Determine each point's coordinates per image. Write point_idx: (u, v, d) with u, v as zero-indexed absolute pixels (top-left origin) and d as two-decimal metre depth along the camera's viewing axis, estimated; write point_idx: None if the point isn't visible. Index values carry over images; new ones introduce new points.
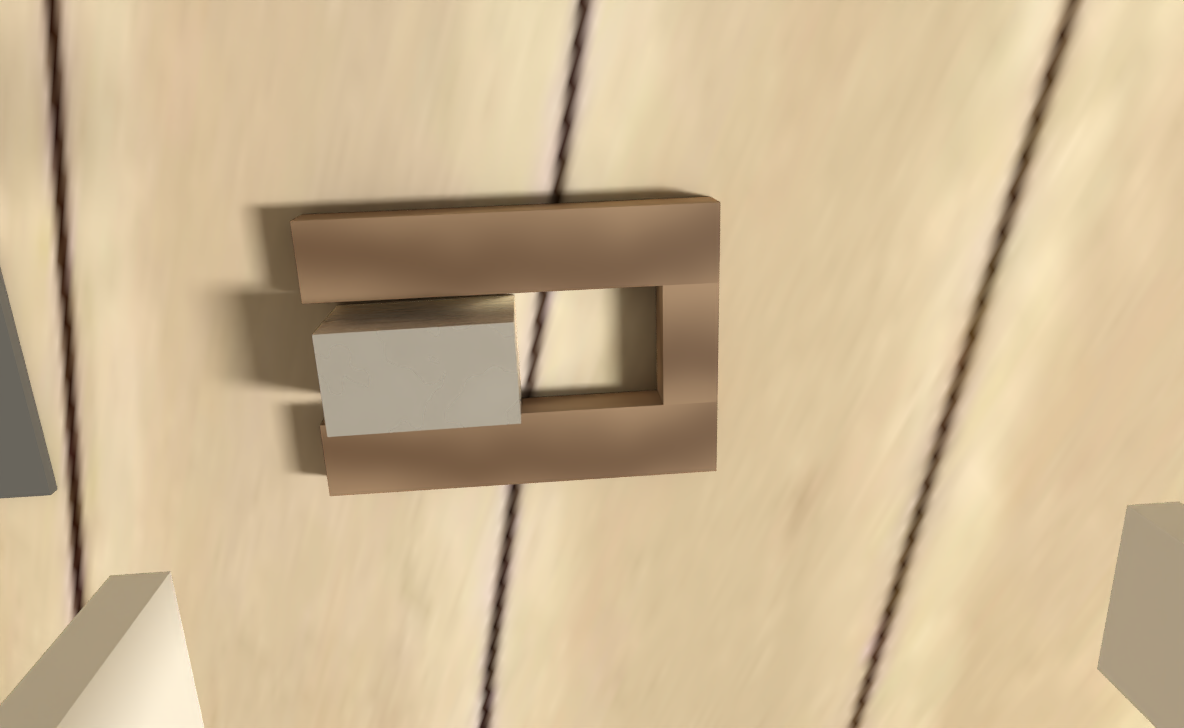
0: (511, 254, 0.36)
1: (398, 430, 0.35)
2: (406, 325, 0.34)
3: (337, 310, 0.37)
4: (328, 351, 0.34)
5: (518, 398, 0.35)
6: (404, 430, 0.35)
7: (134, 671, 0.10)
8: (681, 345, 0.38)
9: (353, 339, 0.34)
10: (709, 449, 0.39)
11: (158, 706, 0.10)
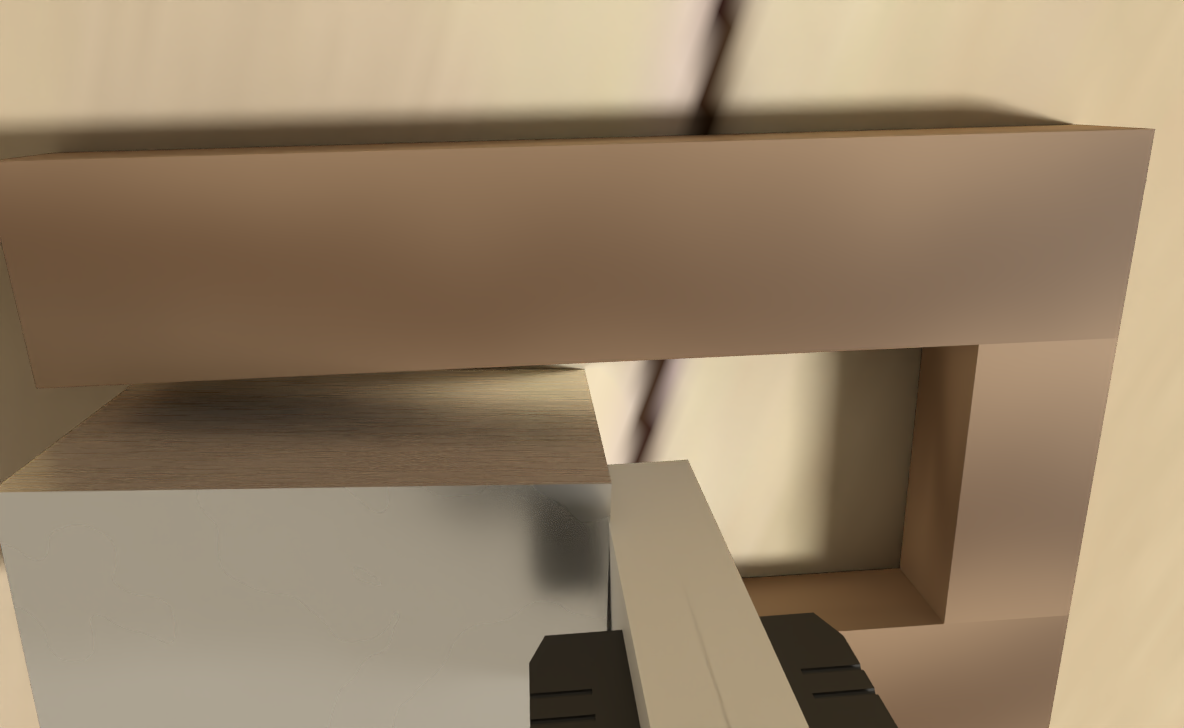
0: (599, 261, 0.13)
1: None
2: (293, 470, 0.12)
3: (137, 390, 0.14)
4: (43, 543, 0.11)
5: None
6: None
7: None
8: (1004, 489, 0.15)
9: (123, 512, 0.11)
10: (1034, 717, 0.17)
11: None
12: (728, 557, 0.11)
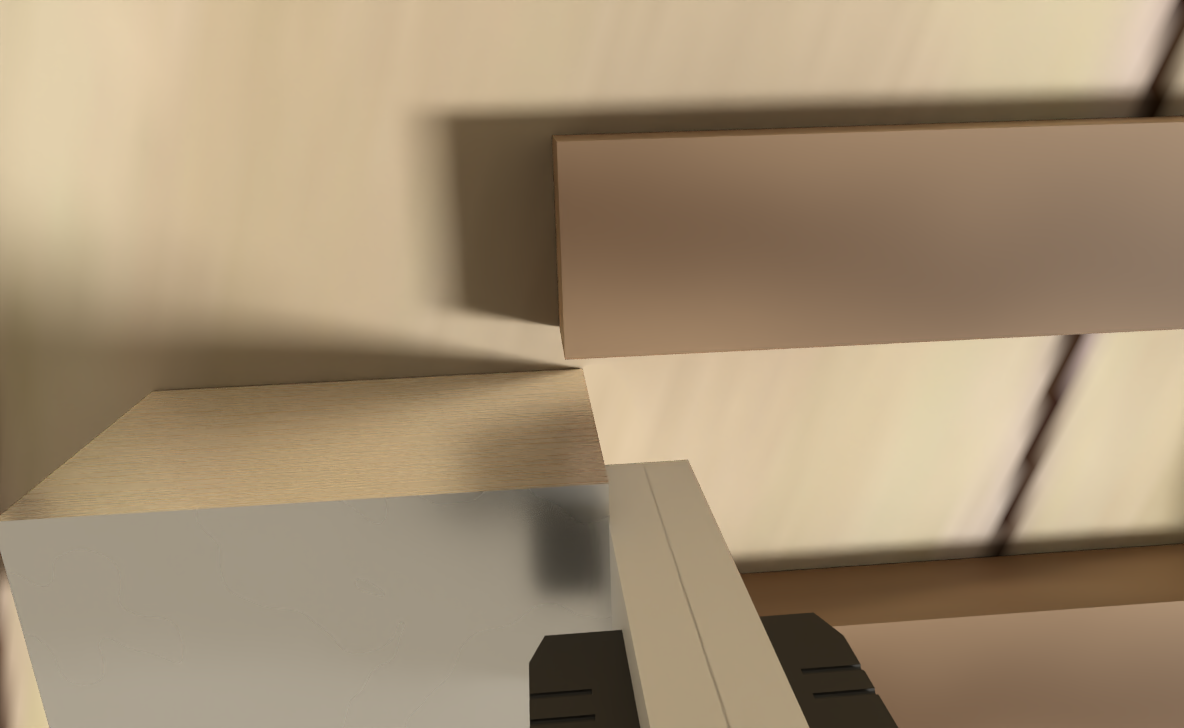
0: (1099, 236, 0.14)
1: None
2: (292, 485, 0.12)
3: (138, 412, 0.15)
4: (48, 569, 0.11)
5: None
6: None
7: None
8: None
9: (125, 534, 0.11)
10: None
11: None
12: (728, 557, 0.11)
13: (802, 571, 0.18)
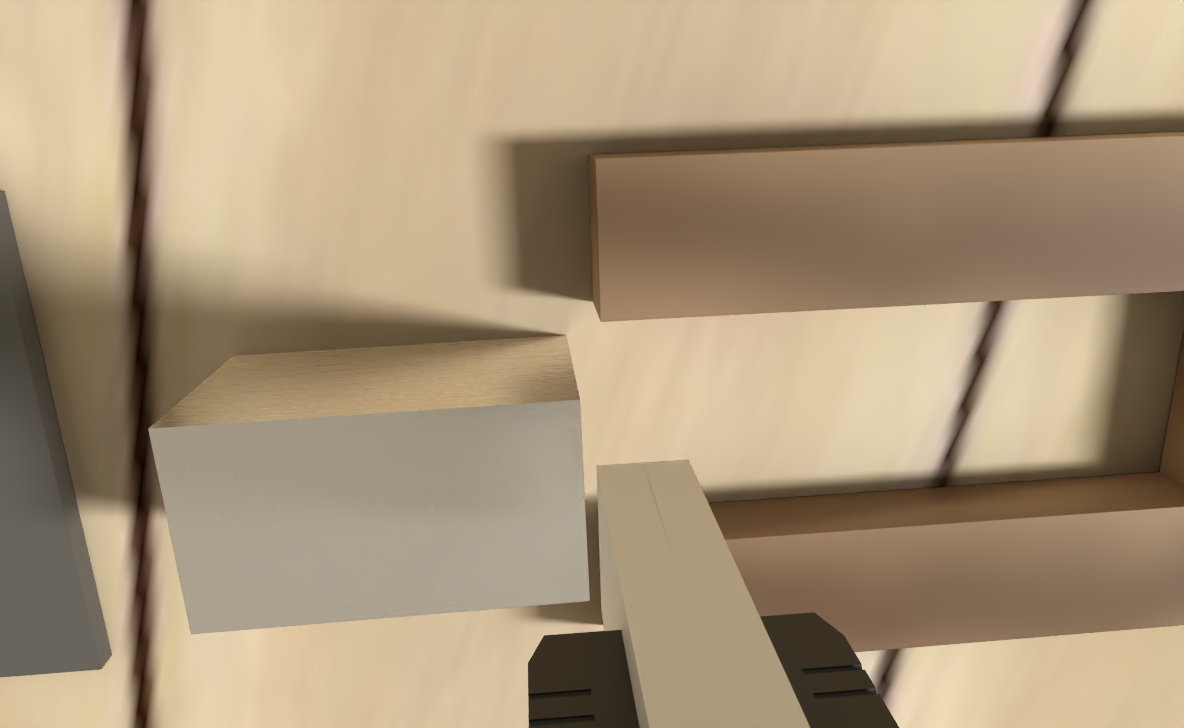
0: (1000, 226, 0.19)
1: (338, 619, 0.17)
2: (354, 405, 0.16)
3: (229, 367, 0.19)
4: (184, 463, 0.16)
5: (585, 552, 0.17)
6: (350, 618, 0.17)
7: None
8: None
9: (239, 438, 0.16)
10: None
11: None
12: (729, 557, 0.11)
13: (785, 498, 0.22)
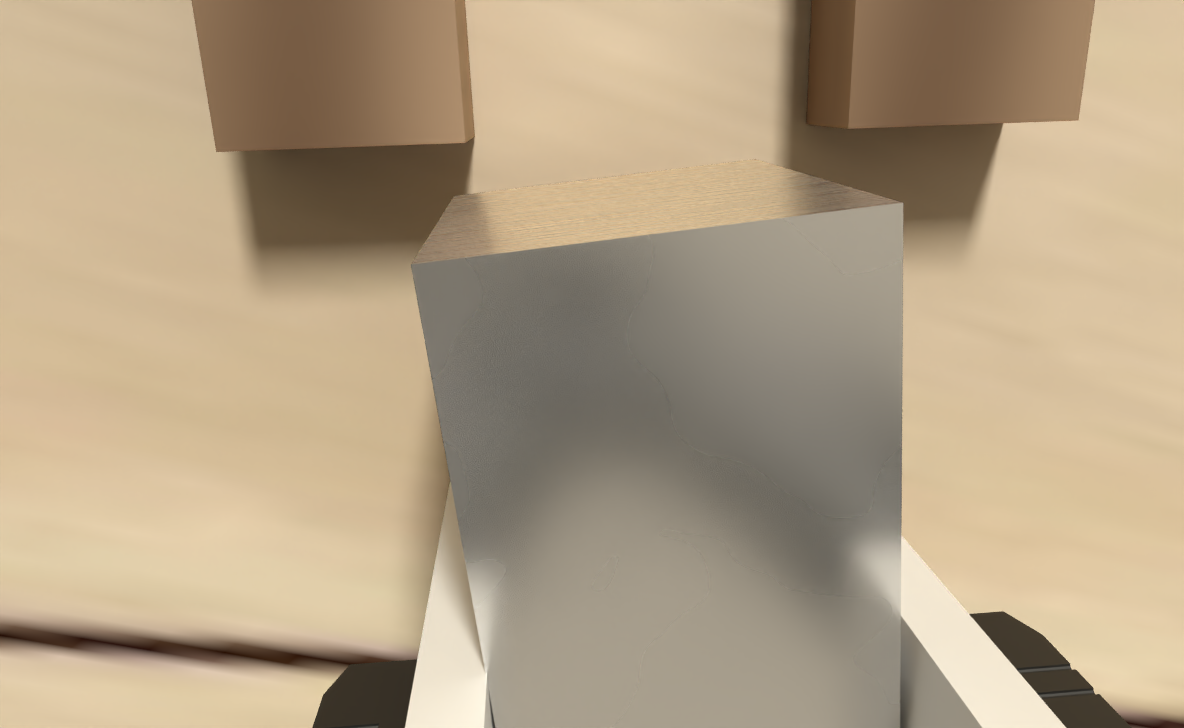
0: None
1: (894, 675, 0.09)
2: None
3: None
4: None
5: (780, 221, 0.08)
6: (894, 655, 0.09)
7: None
8: None
9: None
10: None
11: None
12: (915, 555, 0.11)
13: None
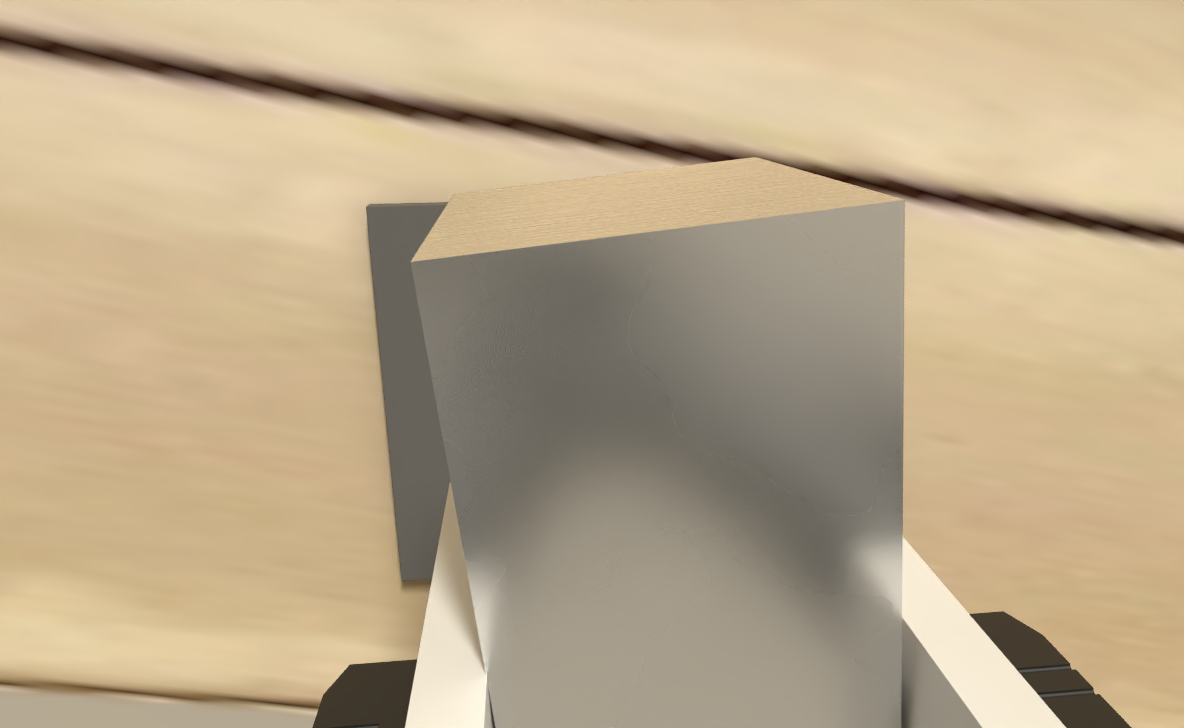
0: None
1: (895, 674, 0.09)
2: None
3: None
4: None
5: (781, 218, 0.07)
6: (896, 656, 0.09)
7: None
8: None
9: None
10: None
11: None
12: (914, 555, 0.11)
13: None
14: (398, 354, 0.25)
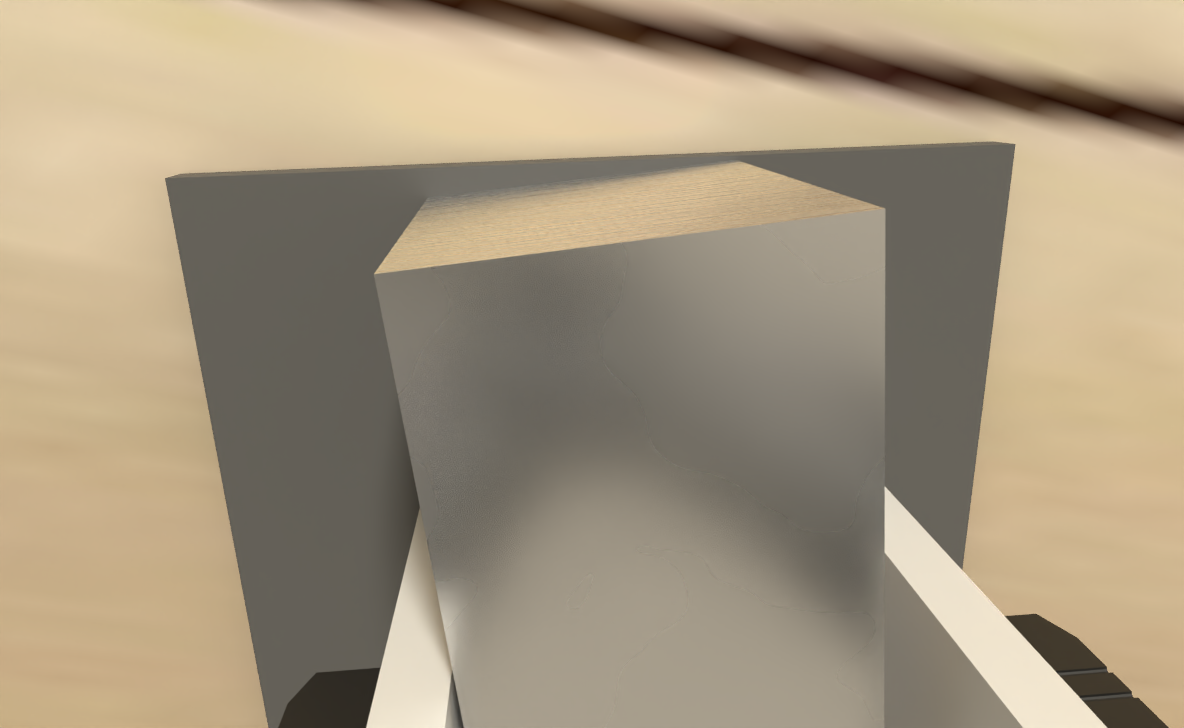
0: None
1: (877, 691, 0.09)
2: None
3: None
4: None
5: (758, 228, 0.07)
6: (879, 672, 0.09)
7: None
8: None
9: None
10: None
11: None
12: (946, 558, 0.11)
13: None
14: (257, 468, 0.13)
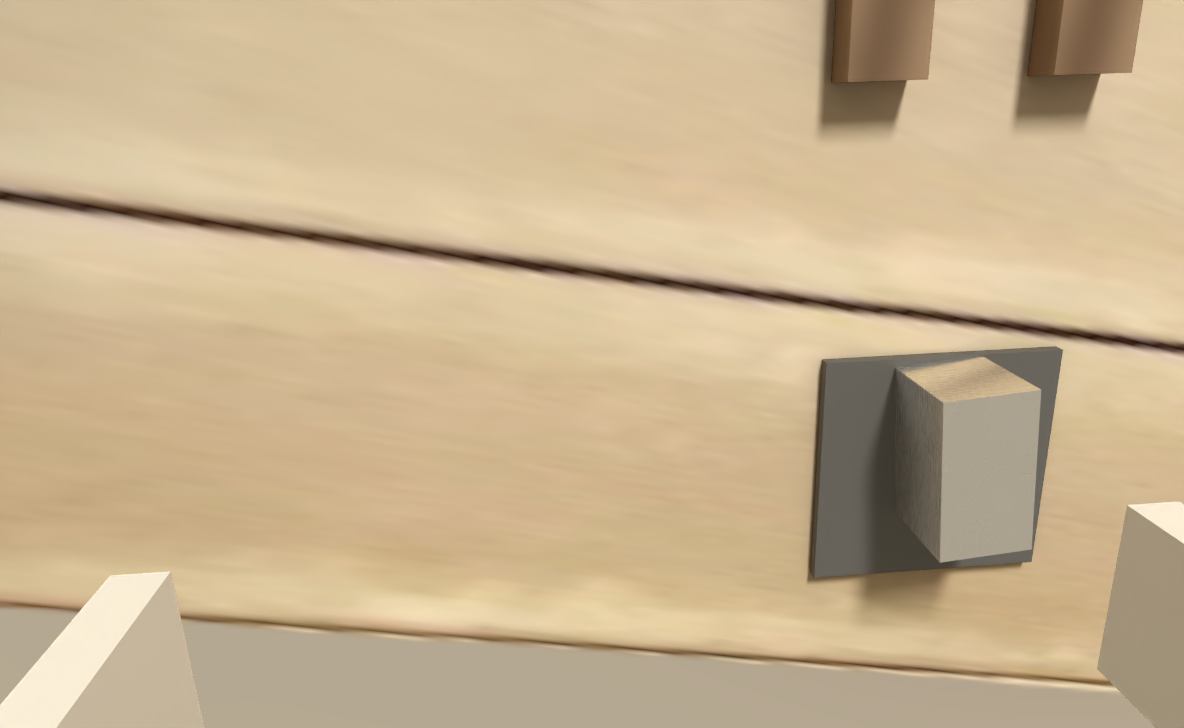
0: None
1: (1033, 494, 0.38)
2: (935, 486, 0.39)
3: (904, 518, 0.43)
4: (955, 550, 0.39)
5: (1016, 393, 0.37)
6: (1034, 489, 0.38)
7: (134, 671, 0.10)
8: None
9: (947, 531, 0.39)
10: None
11: (158, 706, 0.10)
12: None
13: None
14: (832, 444, 0.42)
